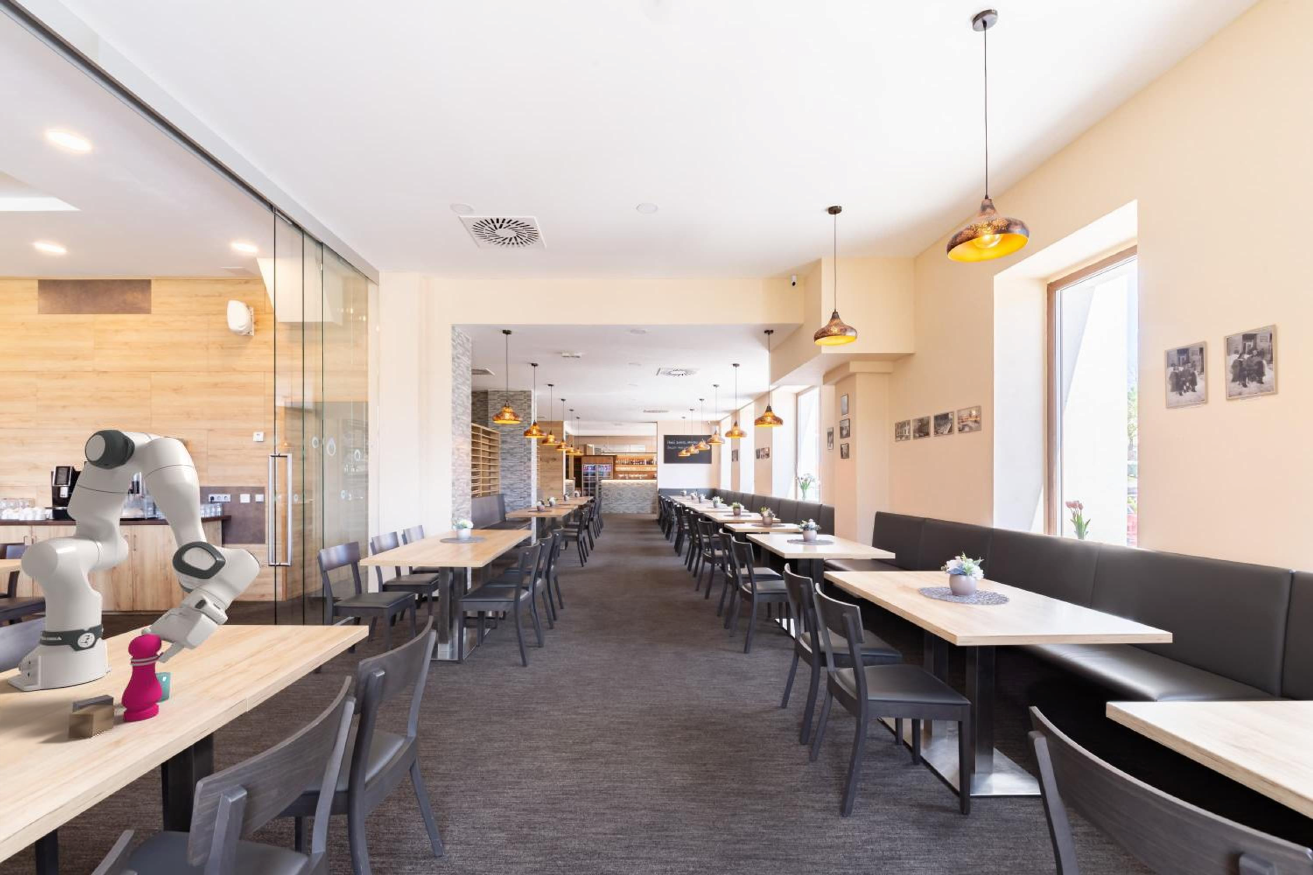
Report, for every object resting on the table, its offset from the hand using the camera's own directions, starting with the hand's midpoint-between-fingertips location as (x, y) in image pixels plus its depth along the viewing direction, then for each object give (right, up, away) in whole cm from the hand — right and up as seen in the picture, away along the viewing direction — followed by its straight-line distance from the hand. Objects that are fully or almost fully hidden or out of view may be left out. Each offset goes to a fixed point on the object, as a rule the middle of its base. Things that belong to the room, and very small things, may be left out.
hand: (150, 658), depth 141 cm
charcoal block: (-11, -13, -2) cm, 17 cm away
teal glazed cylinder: (-6, -13, +8) cm, 17 cm away
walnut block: (-4, -12, -11) cm, 17 cm away
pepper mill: (-1, -13, -2) cm, 13 cm away
